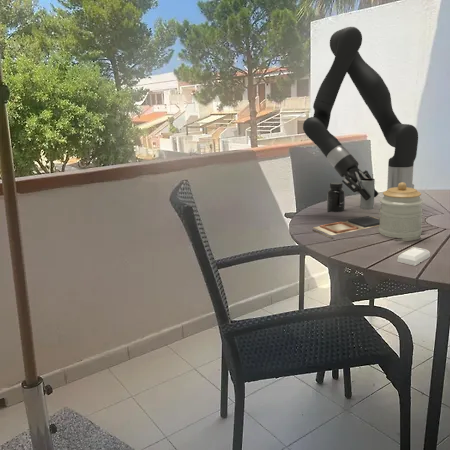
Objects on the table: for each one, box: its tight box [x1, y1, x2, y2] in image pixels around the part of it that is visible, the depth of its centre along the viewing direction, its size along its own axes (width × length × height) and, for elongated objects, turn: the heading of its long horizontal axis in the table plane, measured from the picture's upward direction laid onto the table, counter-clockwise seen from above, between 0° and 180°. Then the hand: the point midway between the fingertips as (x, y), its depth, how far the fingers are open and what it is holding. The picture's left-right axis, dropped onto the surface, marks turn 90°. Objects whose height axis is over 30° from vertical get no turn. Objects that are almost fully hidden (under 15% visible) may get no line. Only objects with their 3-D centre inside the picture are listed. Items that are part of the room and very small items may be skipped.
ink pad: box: [347, 215, 380, 228], centre depth 154 cm, size 9×9×1 cm
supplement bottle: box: [326, 181, 346, 213], centre depth 173 cm, size 7×7×12 cm
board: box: [311, 216, 380, 240], centre depth 152 cm, size 26×11×2 cm, turn 113°
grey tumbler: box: [359, 177, 376, 211], centre depth 151 cm, size 4×4×10 cm
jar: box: [378, 182, 424, 242], centre depth 139 cm, size 13×13×18 cm
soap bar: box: [397, 246, 431, 267], centre depth 121 cm, size 5×9×3 cm, turn 132°
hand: (372, 197), depth 150 cm, fingers closed on grey tumbler, 4 cm apart
